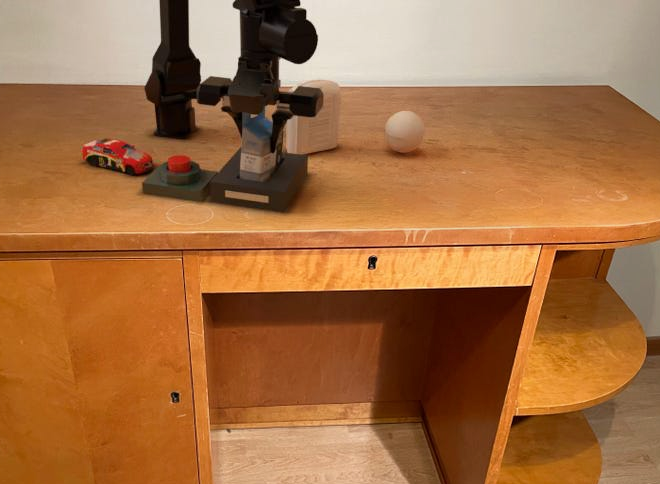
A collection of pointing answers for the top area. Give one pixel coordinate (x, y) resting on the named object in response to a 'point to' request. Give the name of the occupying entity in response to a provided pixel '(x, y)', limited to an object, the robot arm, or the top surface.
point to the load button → (179, 164)
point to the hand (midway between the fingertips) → (260, 150)
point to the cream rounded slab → (316, 122)
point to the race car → (117, 156)
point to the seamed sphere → (404, 131)
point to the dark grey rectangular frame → (260, 184)
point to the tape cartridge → (258, 149)
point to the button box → (179, 183)
